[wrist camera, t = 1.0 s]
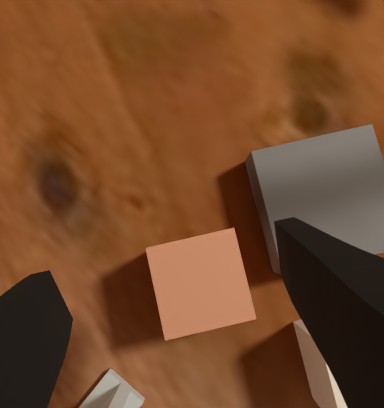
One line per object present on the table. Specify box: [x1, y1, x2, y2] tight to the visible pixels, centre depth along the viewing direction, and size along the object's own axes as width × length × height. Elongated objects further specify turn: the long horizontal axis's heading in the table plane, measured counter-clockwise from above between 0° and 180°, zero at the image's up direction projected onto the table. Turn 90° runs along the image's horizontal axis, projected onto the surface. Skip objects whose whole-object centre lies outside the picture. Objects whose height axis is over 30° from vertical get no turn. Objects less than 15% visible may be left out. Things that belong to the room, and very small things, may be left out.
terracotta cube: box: [146, 228, 256, 341], centre depth 20 cm, size 5×5×5 cm
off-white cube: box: [293, 319, 347, 408], centre depth 20 cm, size 5×5×5 cm
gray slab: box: [245, 124, 384, 275], centre depth 22 cm, size 8×8×3 cm
